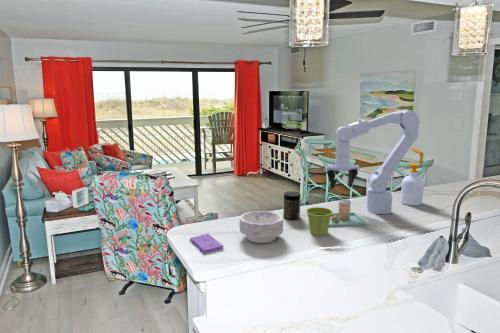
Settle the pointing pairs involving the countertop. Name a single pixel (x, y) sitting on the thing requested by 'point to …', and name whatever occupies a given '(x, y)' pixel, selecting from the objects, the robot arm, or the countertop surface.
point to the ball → (335, 219)
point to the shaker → (344, 210)
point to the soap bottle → (413, 185)
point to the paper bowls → (261, 226)
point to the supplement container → (291, 205)
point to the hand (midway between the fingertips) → (341, 187)
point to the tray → (353, 220)
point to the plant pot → (319, 220)
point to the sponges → (206, 243)
